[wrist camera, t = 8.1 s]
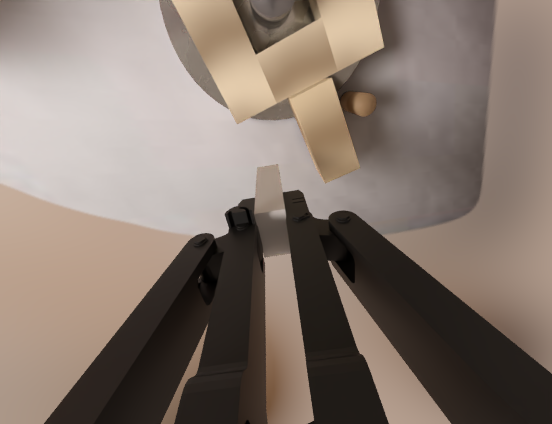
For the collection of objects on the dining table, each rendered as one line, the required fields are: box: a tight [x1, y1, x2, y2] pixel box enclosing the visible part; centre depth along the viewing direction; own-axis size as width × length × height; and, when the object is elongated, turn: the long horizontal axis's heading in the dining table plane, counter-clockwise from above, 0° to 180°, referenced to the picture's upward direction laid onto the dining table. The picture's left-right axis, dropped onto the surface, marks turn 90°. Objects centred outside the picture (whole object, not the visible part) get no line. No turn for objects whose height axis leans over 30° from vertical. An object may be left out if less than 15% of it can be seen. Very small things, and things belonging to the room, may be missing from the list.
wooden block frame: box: [172, 0, 384, 183], centre depth 17 cm, size 19×12×4 cm, turn 26°
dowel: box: [340, 91, 376, 117], centre depth 20 cm, size 2×2×4 cm
